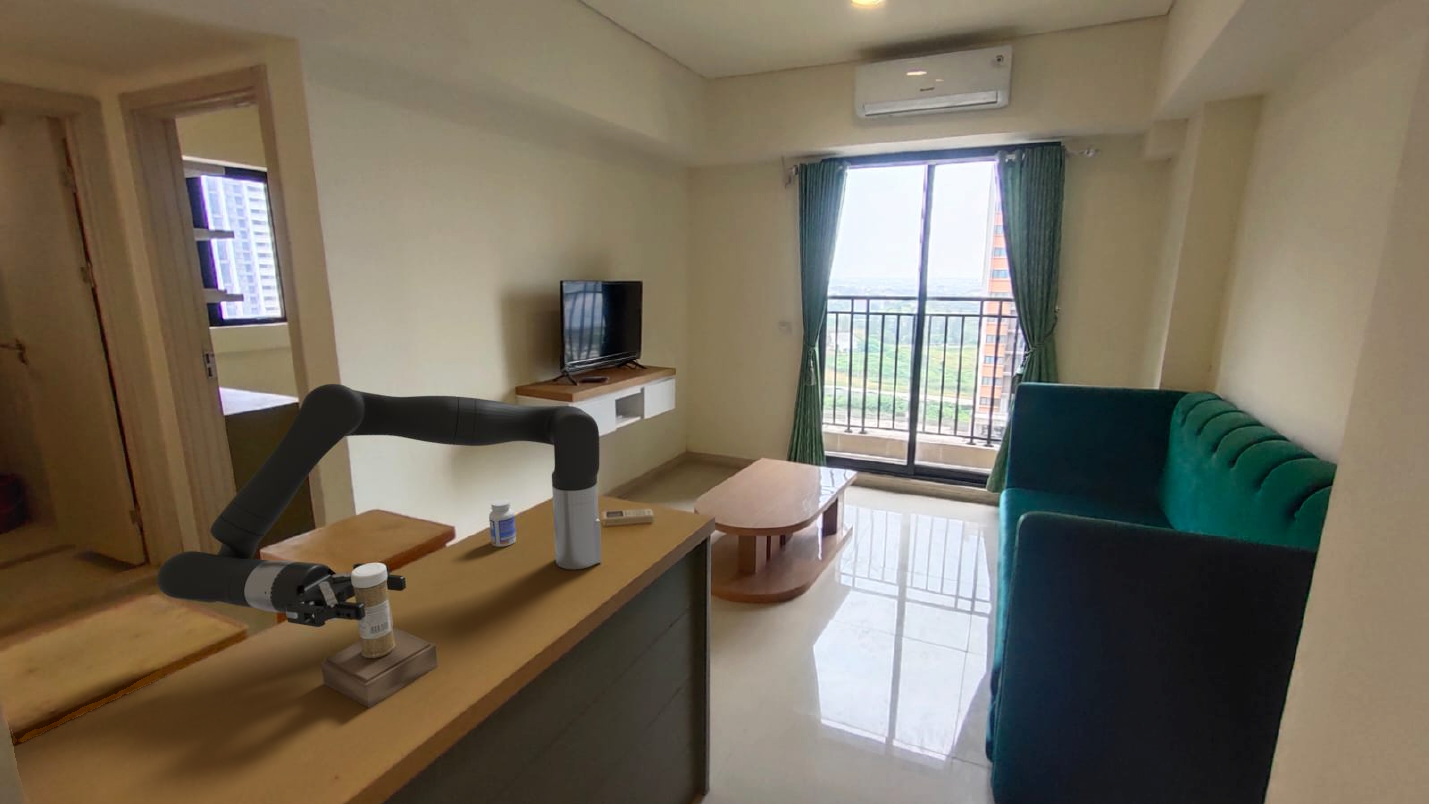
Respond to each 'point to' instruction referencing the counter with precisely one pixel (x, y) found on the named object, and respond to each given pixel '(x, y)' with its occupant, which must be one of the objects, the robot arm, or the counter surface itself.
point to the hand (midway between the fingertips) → (384, 597)
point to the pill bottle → (502, 524)
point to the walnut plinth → (379, 669)
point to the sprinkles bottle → (374, 609)
